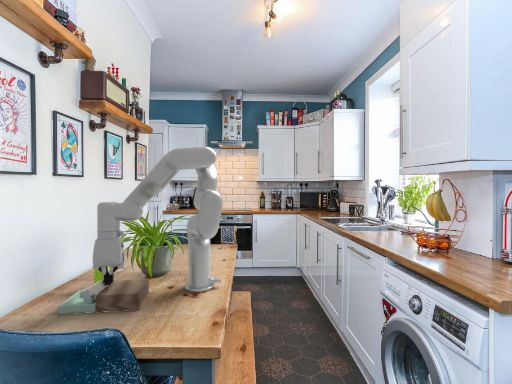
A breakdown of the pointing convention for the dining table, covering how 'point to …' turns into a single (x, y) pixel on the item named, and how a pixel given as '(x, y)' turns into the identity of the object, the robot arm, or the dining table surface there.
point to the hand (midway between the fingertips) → (108, 284)
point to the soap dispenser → (99, 275)
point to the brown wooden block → (122, 295)
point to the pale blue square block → (88, 296)
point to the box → (76, 305)
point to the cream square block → (96, 287)
